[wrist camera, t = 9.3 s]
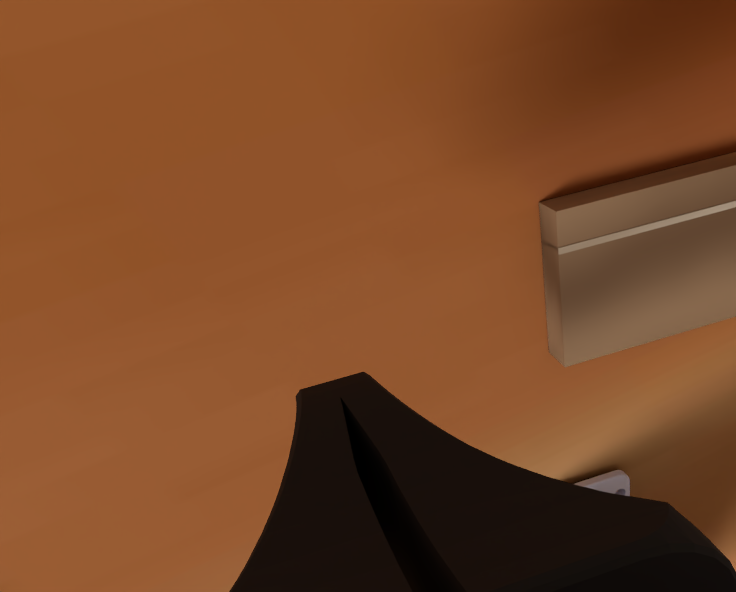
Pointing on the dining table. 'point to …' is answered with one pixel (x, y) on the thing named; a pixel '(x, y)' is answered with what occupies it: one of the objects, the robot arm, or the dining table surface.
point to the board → (639, 259)
